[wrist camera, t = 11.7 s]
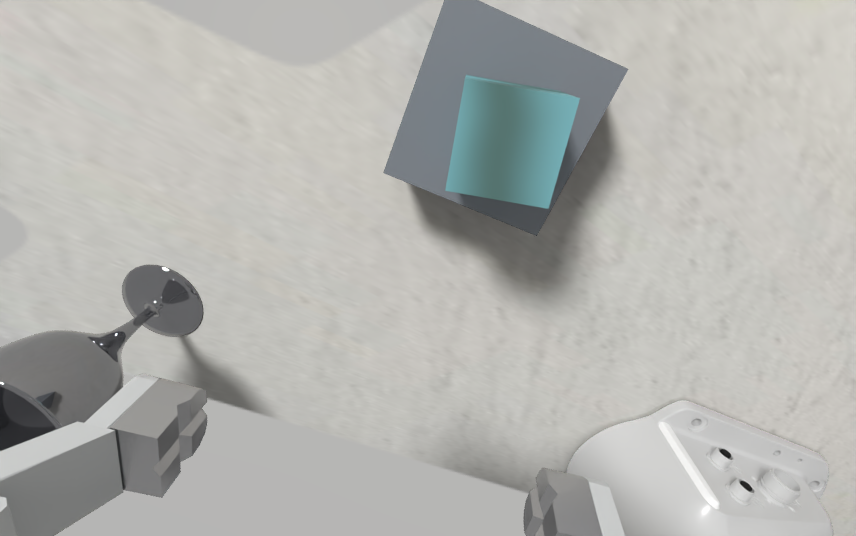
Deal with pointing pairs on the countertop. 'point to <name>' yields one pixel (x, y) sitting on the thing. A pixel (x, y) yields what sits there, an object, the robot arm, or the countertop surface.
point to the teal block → (510, 141)
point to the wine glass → (86, 358)
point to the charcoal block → (505, 61)
